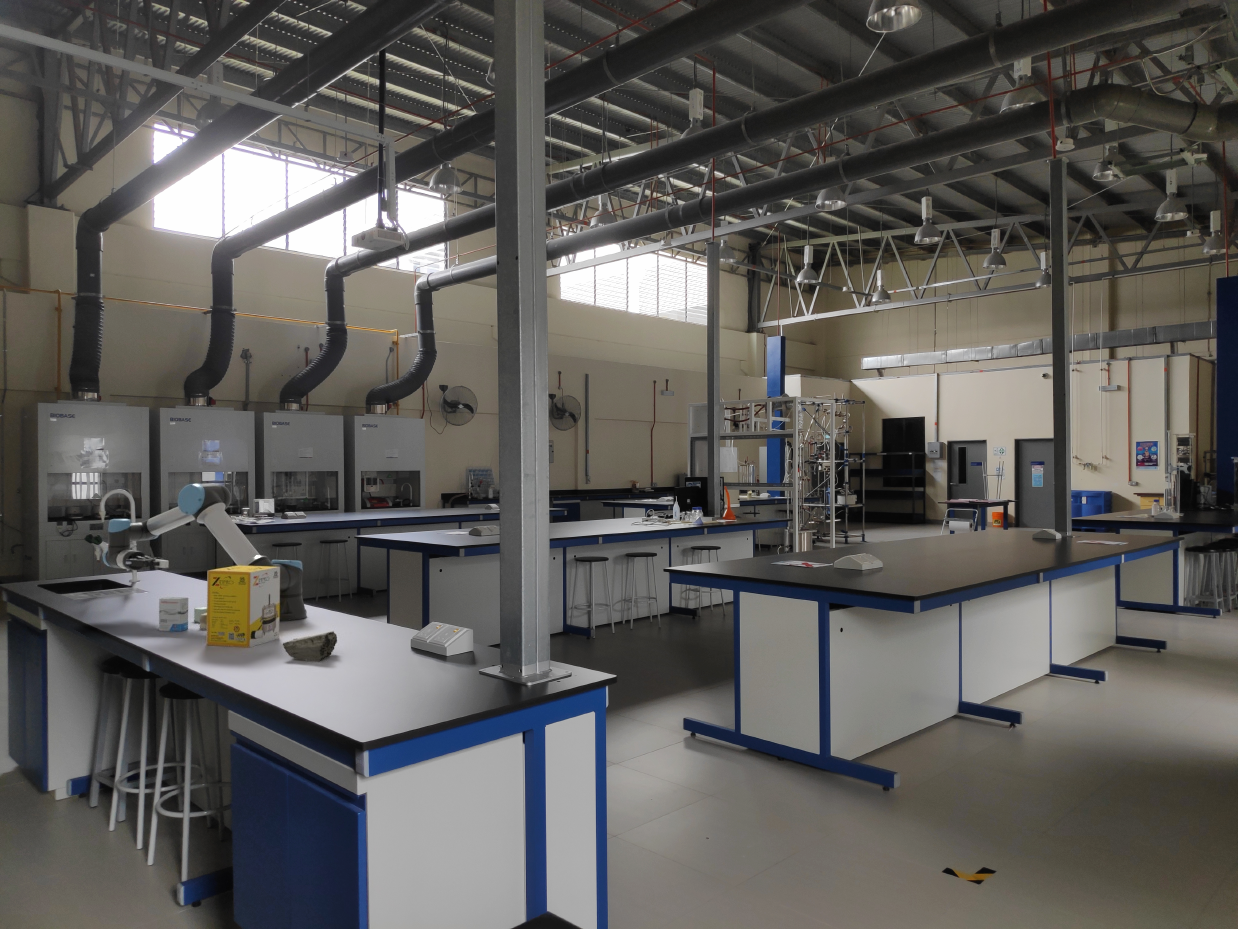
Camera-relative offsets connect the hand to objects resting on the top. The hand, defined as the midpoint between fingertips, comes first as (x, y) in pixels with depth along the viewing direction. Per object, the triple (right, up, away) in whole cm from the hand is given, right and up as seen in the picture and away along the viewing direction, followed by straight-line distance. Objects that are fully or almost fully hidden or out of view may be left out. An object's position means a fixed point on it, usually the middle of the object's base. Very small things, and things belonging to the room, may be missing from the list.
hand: (166, 564), depth 305 cm
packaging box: (+42, -23, -28) cm, 55 cm away
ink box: (+7, -23, -9) cm, 26 cm away
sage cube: (+9, -23, +10) cm, 27 cm away
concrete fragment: (+75, -23, -50) cm, 92 cm away
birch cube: (+18, -23, -3) cm, 30 cm away
